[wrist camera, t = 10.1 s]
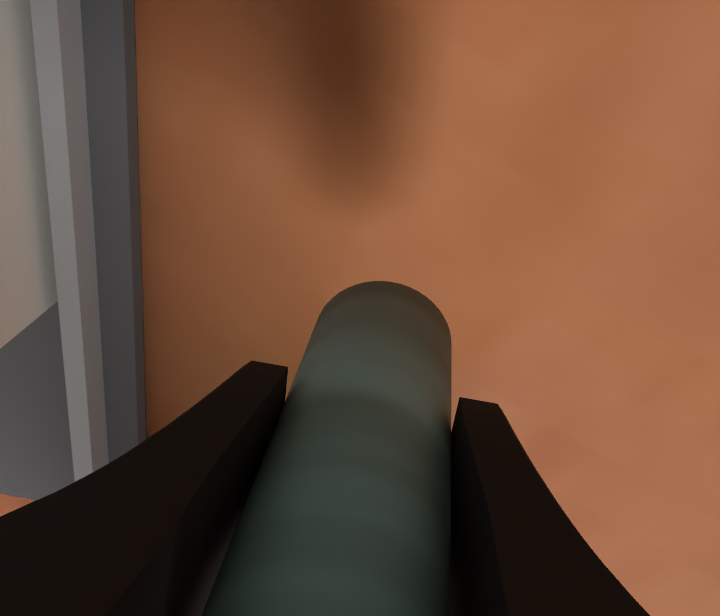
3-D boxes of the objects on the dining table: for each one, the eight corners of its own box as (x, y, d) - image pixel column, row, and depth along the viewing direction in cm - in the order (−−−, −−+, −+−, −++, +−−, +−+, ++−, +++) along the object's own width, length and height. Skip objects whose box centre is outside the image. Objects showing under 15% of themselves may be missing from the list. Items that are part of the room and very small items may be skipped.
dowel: (437, 411, 14) (423, 851, 7) (308, 388, 14) (166, 796, 7) (463, 294, 13) (477, 686, 6) (321, 270, 13) (163, 622, 6)
